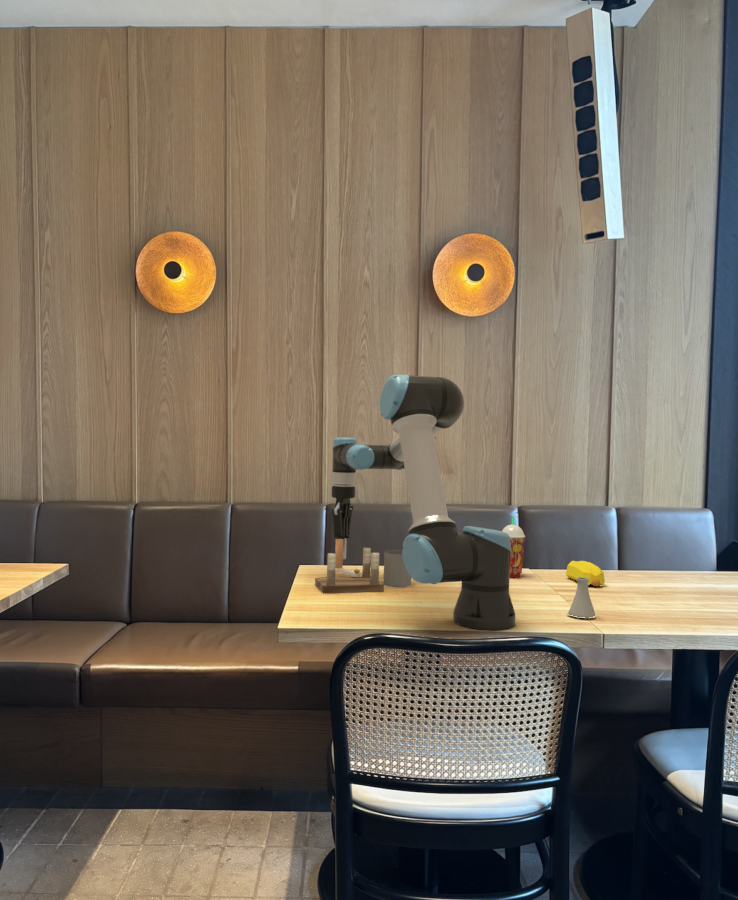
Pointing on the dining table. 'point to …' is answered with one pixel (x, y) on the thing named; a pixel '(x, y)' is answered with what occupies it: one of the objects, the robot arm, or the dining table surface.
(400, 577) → the cup
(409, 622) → the dining table surface
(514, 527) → the smoothie
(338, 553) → the crank handle
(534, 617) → the dining table surface
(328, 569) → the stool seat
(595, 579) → the yellow lumpy oval
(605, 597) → the dining table surface
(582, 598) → the flask
